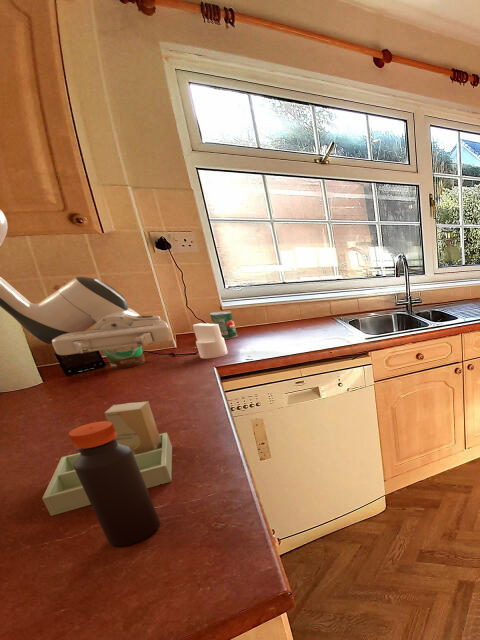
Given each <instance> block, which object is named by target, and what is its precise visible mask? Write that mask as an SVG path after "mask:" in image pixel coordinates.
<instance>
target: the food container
mask: <svg viewBox="0 0 480 640" xmlns="http://www.w3.org/2000/svg"><path fill="white" fill-rule="evenodd" d="M102 353H103V354H104V355H105V357H106V360H107V361H108V363H109V364H110V366H111V368H112V369H127V368H133V367H137V366H140V365H143V364H145V362H146V360H145V359H146V358H145V354H144V349H143V346H141V347H139V348H134V349H132V350H130V351H126V352H115V351H110V350H102Z"/></svg>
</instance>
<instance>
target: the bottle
mask: <svg viewBox="0 0 480 640" xmlns="http://www.w3.org/2000/svg"><path fill="white" fill-rule="evenodd" d="M68 437H69V439H70V441H71V443H72V445H73V447H74V449H75V450H76V451H77V452H79V453H81V454H80V455H79V457H78V458H77V459H76V461H75V462H74V465H73V466H74V469H75V471H76V473H77V475H78V477H79V480H80V482H81V484H82V486H83V488H84V490H85V493H86V495H87V497H88V499H89V501H90V503H91V507H92V509H93V512H94V514H95V516H96V518H97V521H98V523H99V525H100V528H101V530H102V531H103V534H104V535H105V538H106V540H107V542H108V544H109V545H110V546H113V547H126V546H127V547H129V546H131V545H135V544H137V543H139V542H142V541H145V540H146V539H148V538H149V537H151V536H152V535H153V534H155V533H156V532H157V531H158V530H159V528H160V526H161V520H160V518H159V516H158V513H157V510H156V508H155V505H154V503H153V500H152V498H151V495H150V493H149V490H148V488H146V485H145V483H144V480H143V477H142V475H141V472H140V470H139V467H138V465H137V462H136V460H135V457H134V455H133V452H132V450H131V449H130V448H129V447H128V446H125V445H121V444H118V443H117V441H116V440H117V439H118V437H117V434H116V431H115V429H114V426H113V424H112V423H111V422H108V421H107V420H103V421H102V420H101V421H95V422H90V423H87V424H83V425H80V426H78V427H76V428H73V429H71V430H70V431H69V433H68Z"/></svg>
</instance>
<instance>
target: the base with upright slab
mask: <svg viewBox="0 0 480 640" xmlns="http://www.w3.org/2000/svg"><path fill="white" fill-rule="evenodd" d="M192 328H193V333H194V335H195V338H196V341H195V345H196V349H197V351H198V356H199V357H200V359H206V360H207V359H216V358H220V357H225V356H227V355H228V353H229V352H228V348H227V344H226V341H225V339H224V338H223V337H222V336H221V332H220V328H219V325H218V324H213V323H201V322H198V323H194V324H192Z"/></svg>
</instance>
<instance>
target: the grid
mask: <svg viewBox="0 0 480 640" xmlns="http://www.w3.org/2000/svg"><path fill="white" fill-rule="evenodd" d="M159 436H160V439H161V442H162V448H161V449H157V450H153V451H149V452H145V453H141V454H137V455H134V457H135V460H136V462H137V465H138V467H139V470H140V472H141V475H142V477H143V480H144V483H145V485H146V488H147V489H150V488H153V487H158V486H160V484H161V485H164V484H169V483H171V482H172V481H173V480H172V477H173V474H172V473H173V445H172V442H171V440H170V437H169V433H168V432H163V433H159ZM80 454H81V453H80V452H78V453H74V454H69V455H65V456H61V458H60V460H59V462H58V463H57V466H56V468H55V471H54V473H53V475H52V477H51V479H50V480H49V483H48V485H47V488H46V490H45V491H44V494H43V496H42V498H41V499H42V502H43V503H44V505H45V507H46V509H47V511H48V513H49V515H50V517H52V516H53V517H54V516H56V515H59V514H63V513H66V512H69V511H73V510H77V509H80V508H84V507H87V506H90V505H91V503H90V501H89V499H88V497H87V495H86V493H85V490H84V488H83V486H82V484H81V482H80V480H79V477H78V475H77V473H76V471H75V469H74V466H73V465H74V462H75V461H76V459H77V458H78V457H79V455H80ZM91 506H92V505H91Z"/></svg>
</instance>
